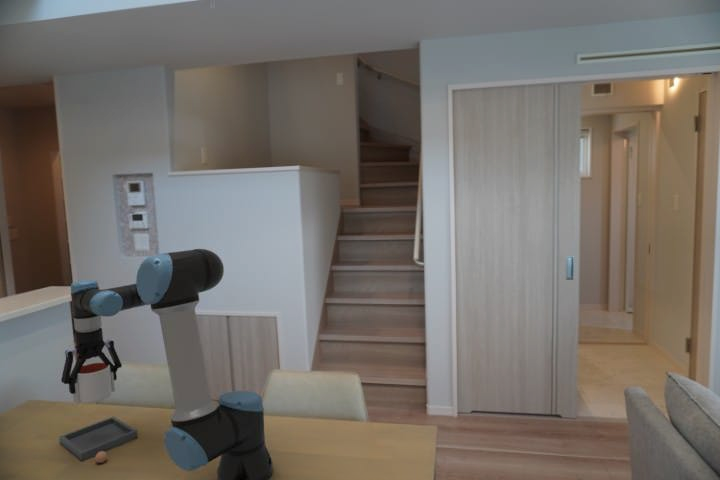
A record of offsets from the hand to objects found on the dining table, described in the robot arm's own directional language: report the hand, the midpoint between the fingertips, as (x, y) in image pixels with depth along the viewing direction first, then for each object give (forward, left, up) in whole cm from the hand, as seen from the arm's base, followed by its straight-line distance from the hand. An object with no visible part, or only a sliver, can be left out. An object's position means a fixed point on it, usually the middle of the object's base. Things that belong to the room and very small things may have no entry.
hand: (94, 396), depth 155 cm
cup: (0, 0, -1) cm, 1 cm away
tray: (0, 0, -15) cm, 15 cm away
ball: (-14, +5, -15) cm, 21 cm away
